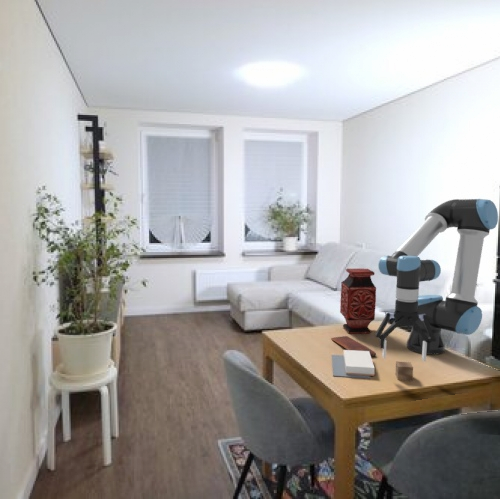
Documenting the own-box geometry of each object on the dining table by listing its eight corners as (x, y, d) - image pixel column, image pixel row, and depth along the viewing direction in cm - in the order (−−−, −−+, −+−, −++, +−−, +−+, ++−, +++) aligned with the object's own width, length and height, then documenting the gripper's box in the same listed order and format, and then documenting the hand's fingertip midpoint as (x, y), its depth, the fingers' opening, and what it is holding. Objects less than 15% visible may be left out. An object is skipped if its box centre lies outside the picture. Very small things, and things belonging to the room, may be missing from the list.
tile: (369, 351, 174) (343, 349, 176) (374, 367, 157) (346, 366, 158) (368, 358, 175) (343, 357, 176) (374, 375, 157) (345, 374, 159)
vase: (375, 334, 208) (377, 272, 205) (346, 334, 207) (348, 272, 204) (366, 326, 222) (367, 267, 218) (339, 326, 221) (340, 268, 218)
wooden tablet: (377, 356, 178) (377, 352, 177) (355, 357, 175) (355, 353, 175) (349, 337, 203) (349, 333, 203) (329, 338, 201) (329, 335, 201)
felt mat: (364, 357, 177) (364, 356, 177) (370, 378, 155) (370, 377, 155) (331, 355, 179) (331, 354, 179) (333, 376, 157) (333, 375, 157)
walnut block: (409, 375, 159) (410, 362, 158) (412, 381, 154) (413, 367, 153) (395, 374, 159) (395, 361, 159) (397, 380, 154) (398, 366, 154)
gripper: (441, 299, 155) (437, 357, 157) (369, 296, 159) (366, 352, 161) (447, 303, 148) (443, 364, 150) (371, 300, 152) (368, 359, 154)
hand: (403, 358), depth 155 cm, fingers open, 13 cm apart
